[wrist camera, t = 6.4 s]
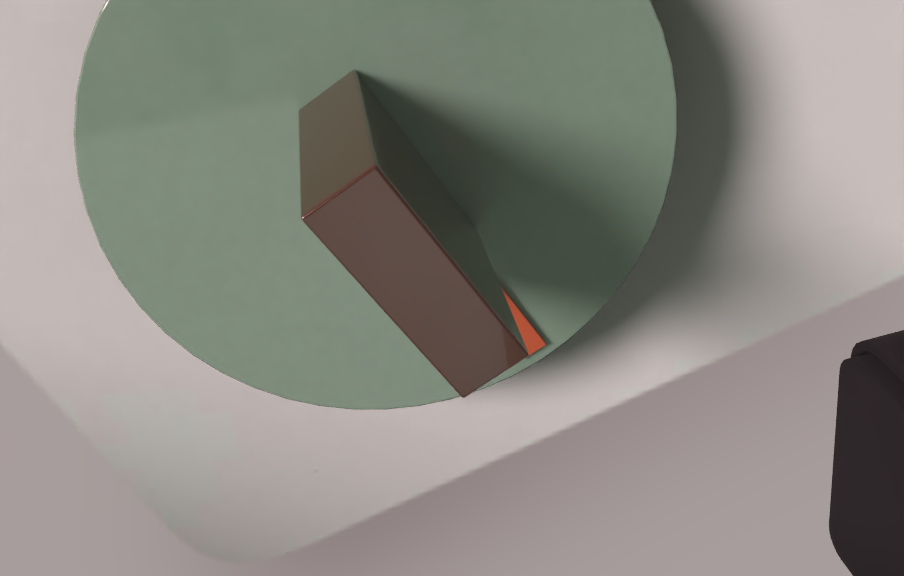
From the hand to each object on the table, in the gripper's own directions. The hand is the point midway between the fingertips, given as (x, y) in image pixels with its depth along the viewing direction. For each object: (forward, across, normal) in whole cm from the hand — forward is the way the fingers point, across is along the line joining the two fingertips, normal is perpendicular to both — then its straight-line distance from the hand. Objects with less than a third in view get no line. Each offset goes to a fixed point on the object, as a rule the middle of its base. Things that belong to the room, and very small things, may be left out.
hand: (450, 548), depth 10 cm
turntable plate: (+13, -1, +1) cm, 13 cm away
